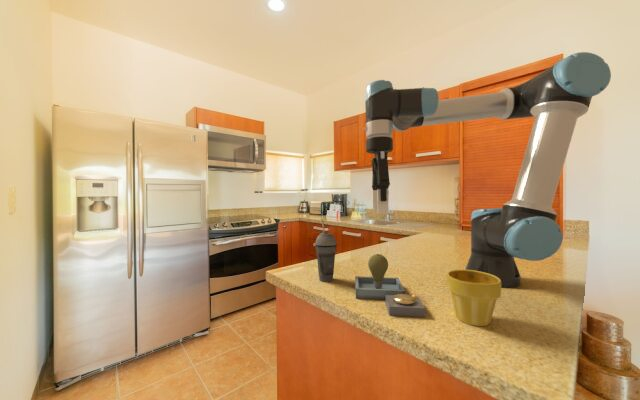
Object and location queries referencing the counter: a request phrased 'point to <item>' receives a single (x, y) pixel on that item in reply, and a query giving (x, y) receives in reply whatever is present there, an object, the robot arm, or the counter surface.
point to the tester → (404, 307)
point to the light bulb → (378, 269)
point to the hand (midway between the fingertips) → (379, 212)
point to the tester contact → (404, 299)
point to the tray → (368, 291)
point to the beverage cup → (325, 255)
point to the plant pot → (473, 295)
